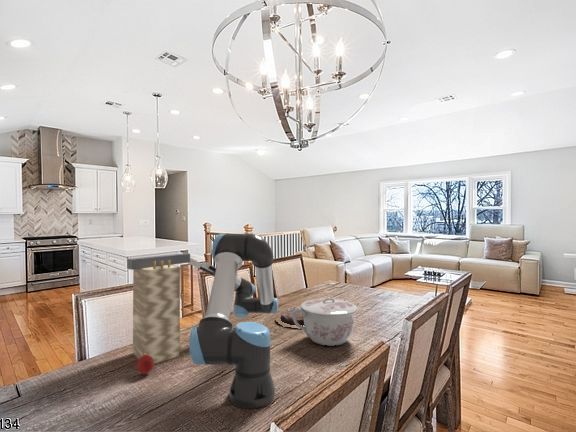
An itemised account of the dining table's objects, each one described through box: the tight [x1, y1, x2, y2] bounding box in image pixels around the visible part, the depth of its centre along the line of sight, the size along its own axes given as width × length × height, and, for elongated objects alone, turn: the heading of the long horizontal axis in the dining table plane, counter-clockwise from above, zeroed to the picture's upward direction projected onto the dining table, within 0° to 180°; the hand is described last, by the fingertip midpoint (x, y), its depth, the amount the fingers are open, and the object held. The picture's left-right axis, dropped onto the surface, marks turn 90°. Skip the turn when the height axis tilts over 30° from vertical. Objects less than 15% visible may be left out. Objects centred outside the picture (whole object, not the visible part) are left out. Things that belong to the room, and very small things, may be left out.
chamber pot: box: [292, 297, 359, 347], centre depth 154 cm, size 28×28×21 cm
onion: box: [136, 353, 155, 375], centre depth 120 cm, size 6×6×8 cm
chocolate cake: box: [280, 306, 304, 326], centre depth 183 cm, size 28×28×7 cm
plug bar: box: [126, 252, 191, 270], centre depth 140 cm, size 27×4×4 cm, turn 141°
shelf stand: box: [132, 260, 181, 365], centre depth 137 cm, size 14×16×41 cm
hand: (195, 262), depth 149 cm, fingers open, 13 cm apart
